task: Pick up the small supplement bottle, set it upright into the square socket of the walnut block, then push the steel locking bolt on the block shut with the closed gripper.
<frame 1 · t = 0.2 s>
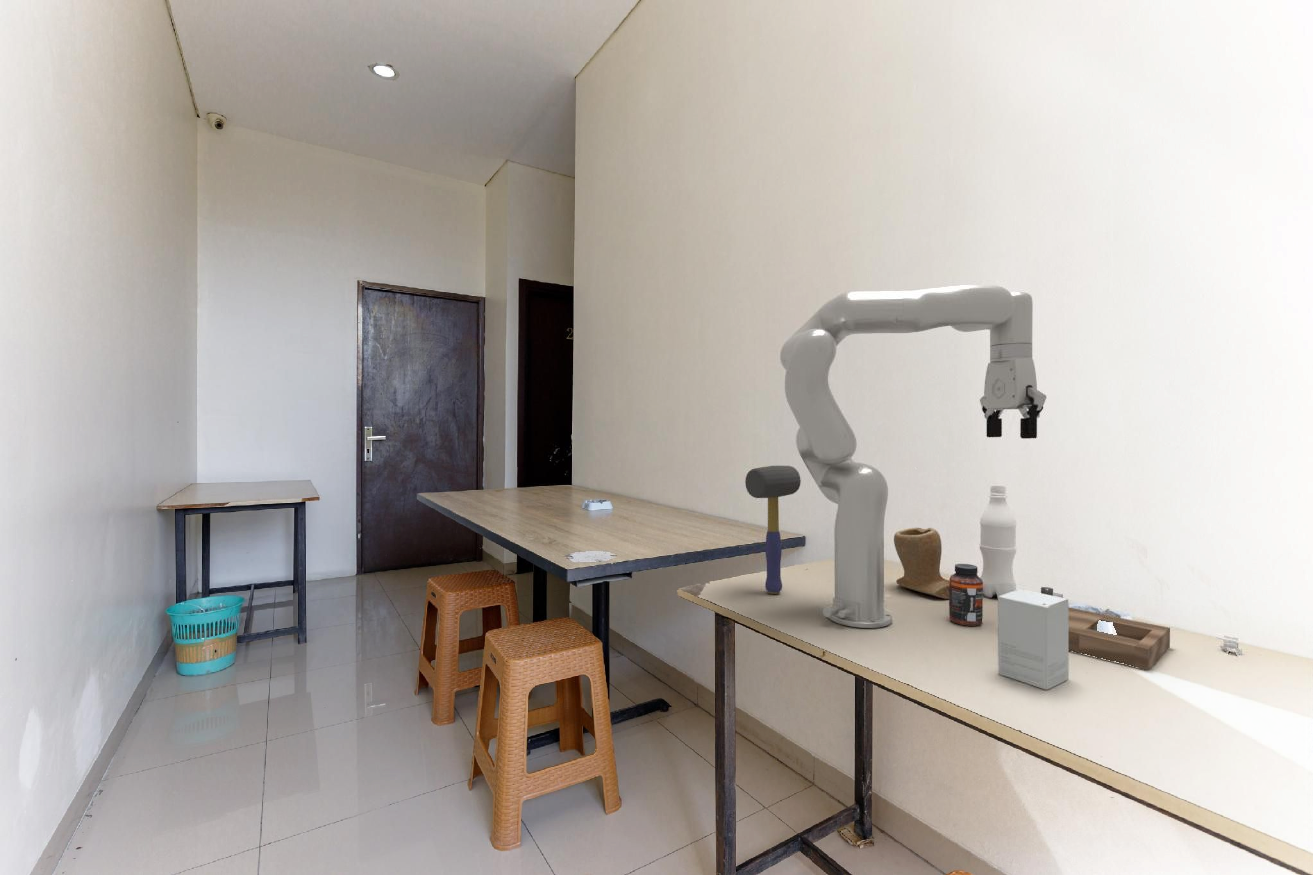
hand: (1010, 437, 123), 36 cm above the table, tool pointing down, fingers open, 9 cm apart
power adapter: (1227, 657, 102), on the table
supplement box: (1032, 677, 94), on the table
tan boot-shaped piece: (926, 593, 140), on the table
supplement bottle: (965, 623, 119), on the table
water bottle: (997, 597, 136), on the table
locking bolt: (1046, 597, 117), point 5 cm above the table, slide at 6.0 cm
rubber mallet: (773, 594, 140), on the table
socket block: (1081, 640, 109), on the table
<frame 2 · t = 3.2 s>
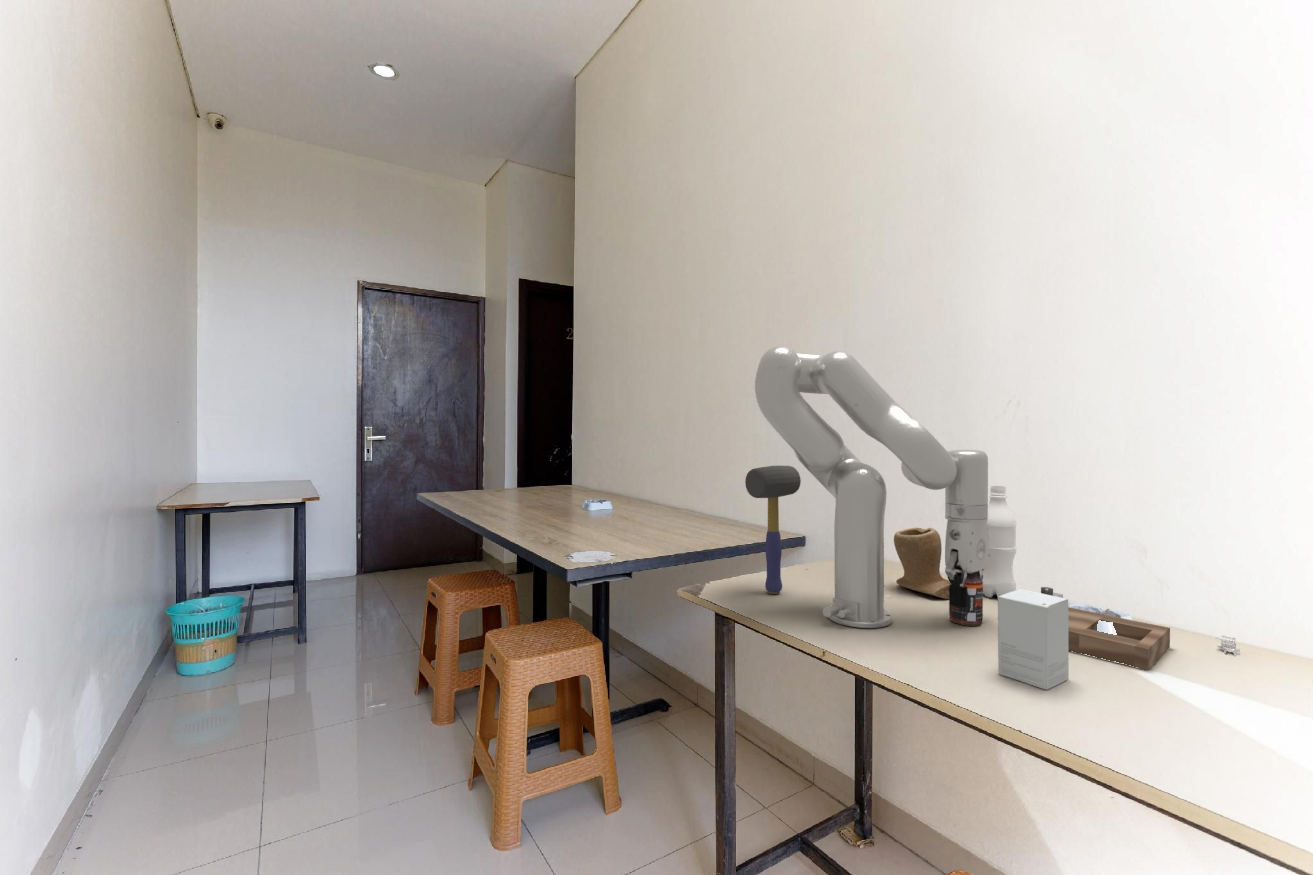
hand: (965, 601, 119), 4 cm above the table, tool pointing down, fingers closed on supplement bottle, 5 cm apart
supplement bottle: (965, 623, 119), on the table, touching gripper
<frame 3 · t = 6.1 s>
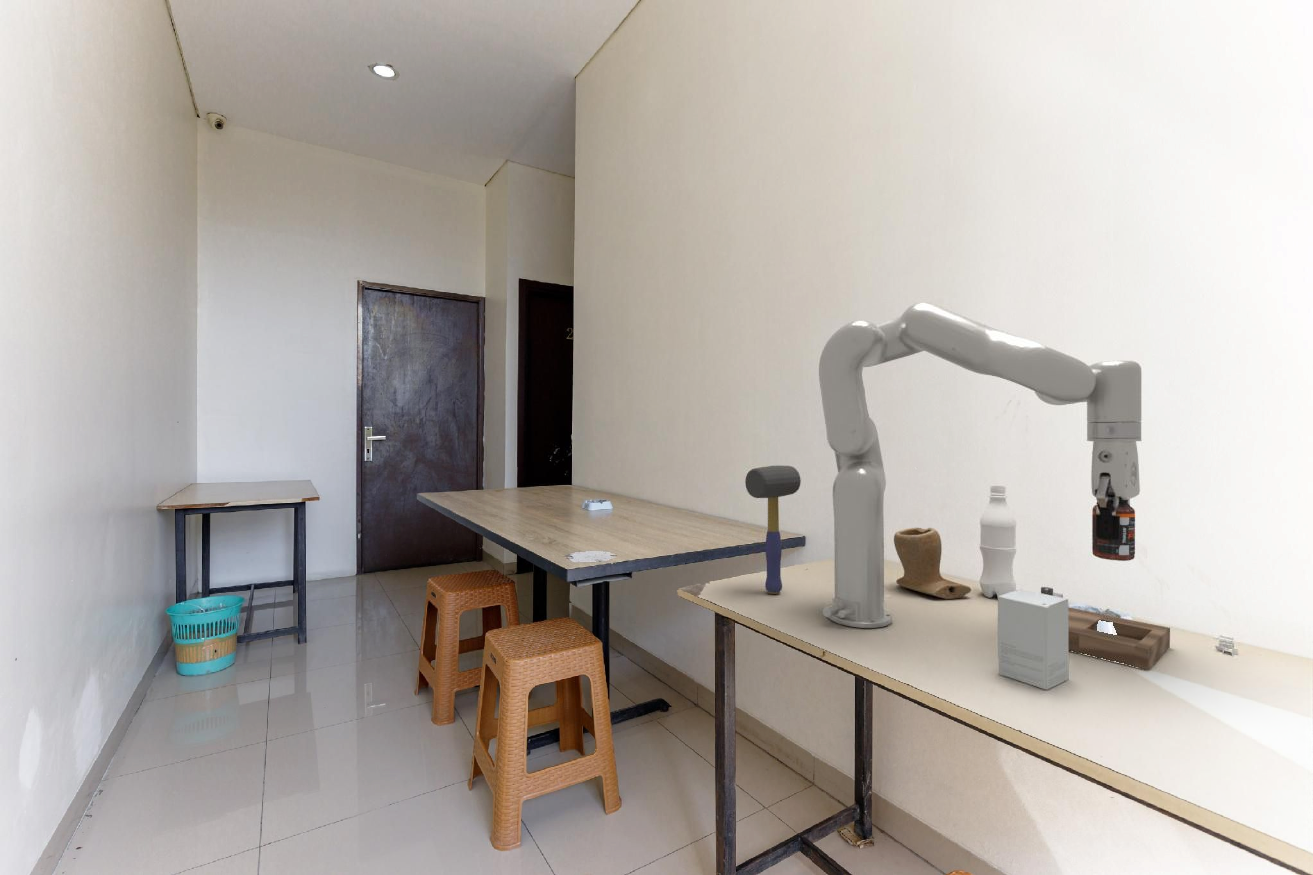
hand: (1113, 534, 104), 20 cm above the table, tool pointing down, fingers closed on supplement bottle, 5 cm apart
supplement bottle: (1113, 558, 105), point 16 cm above the table, touching gripper
when the fingers open (6 cm above the table, at t = 9.3 s): supplement bottle drops 2 cm, resting in socket block.
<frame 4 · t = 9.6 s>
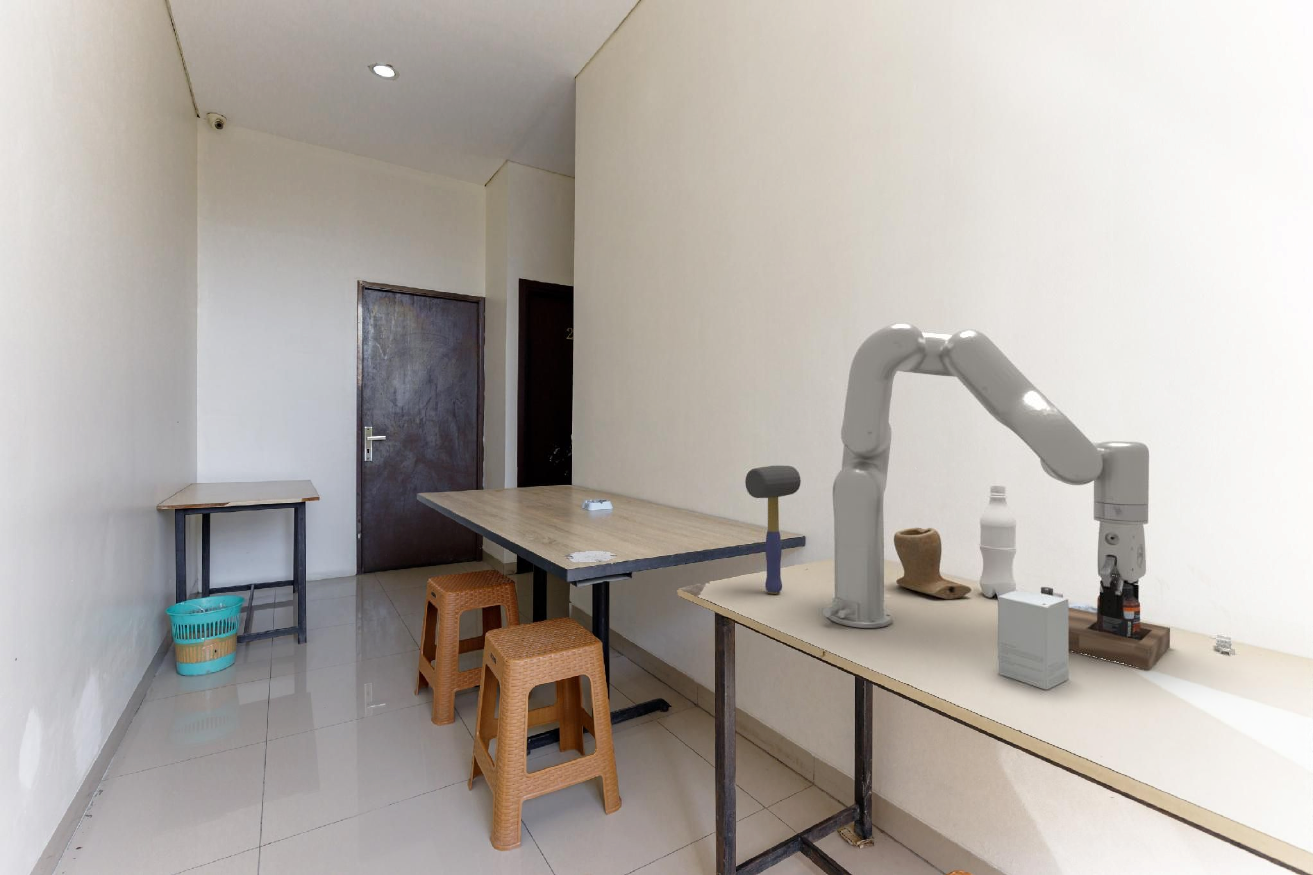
hand: (1119, 610, 104), 7 cm above the table, tool pointing down, fingers open, 9 cm apart
supplement bottle: (1117, 649, 105), resting in socket block
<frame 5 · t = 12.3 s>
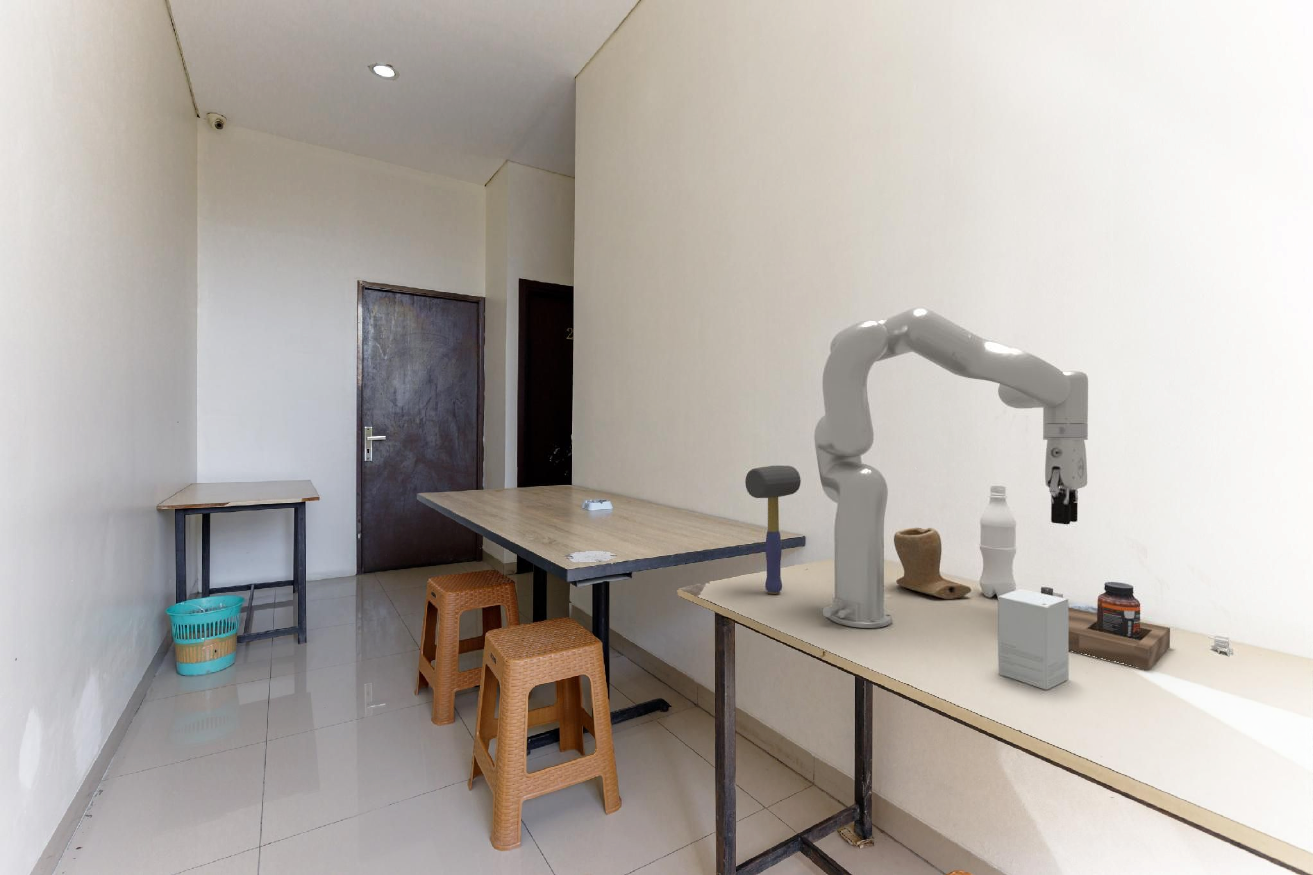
hand: (1064, 521, 122), 19 cm above the table, tool pointing down, fingers open, 3 cm apart
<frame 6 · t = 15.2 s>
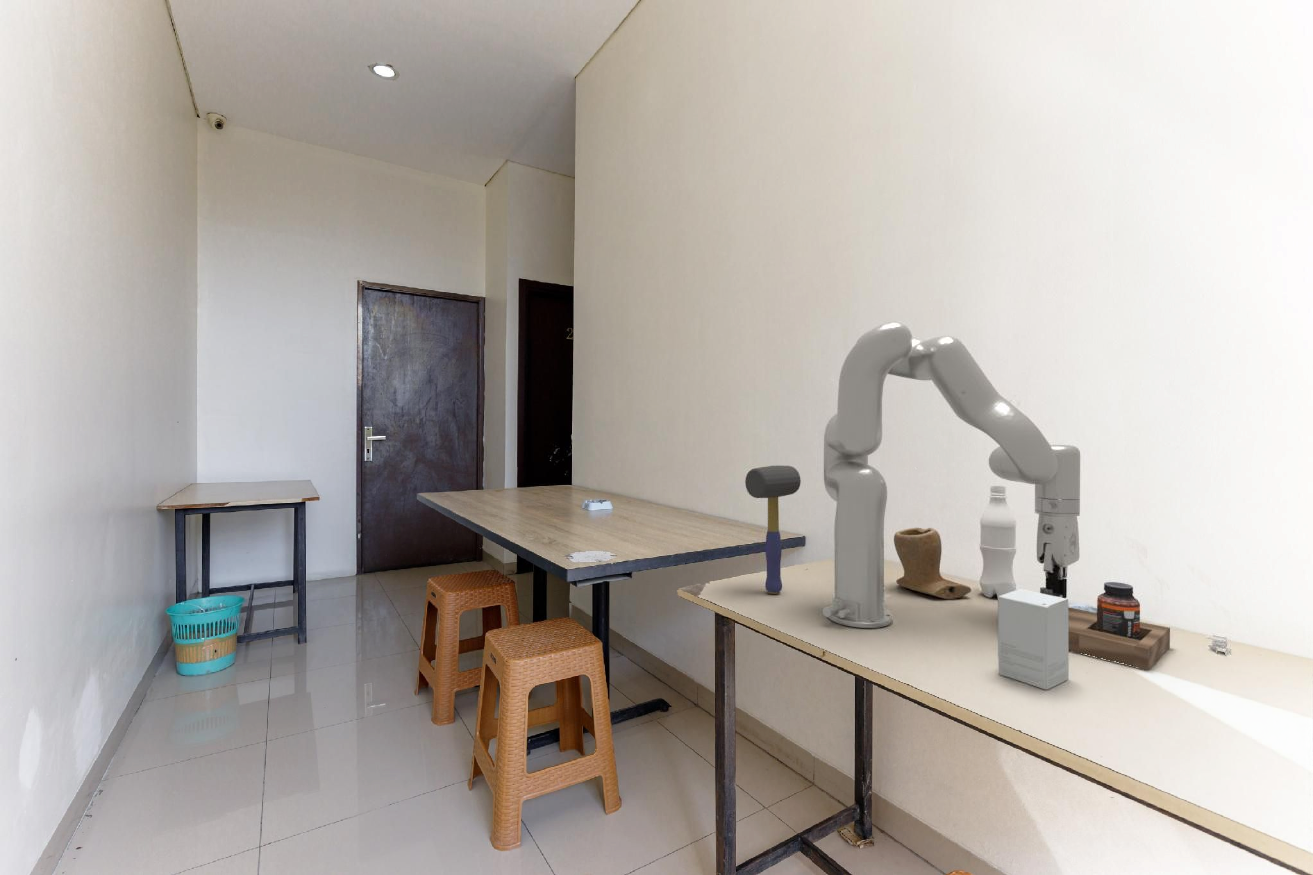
hand: (1056, 597, 120), 4 cm above the table, tool pointing down, fingers closed
locking bolt: (1046, 597, 116), point 5 cm above the table, slide at 5.6 cm, touching gripper
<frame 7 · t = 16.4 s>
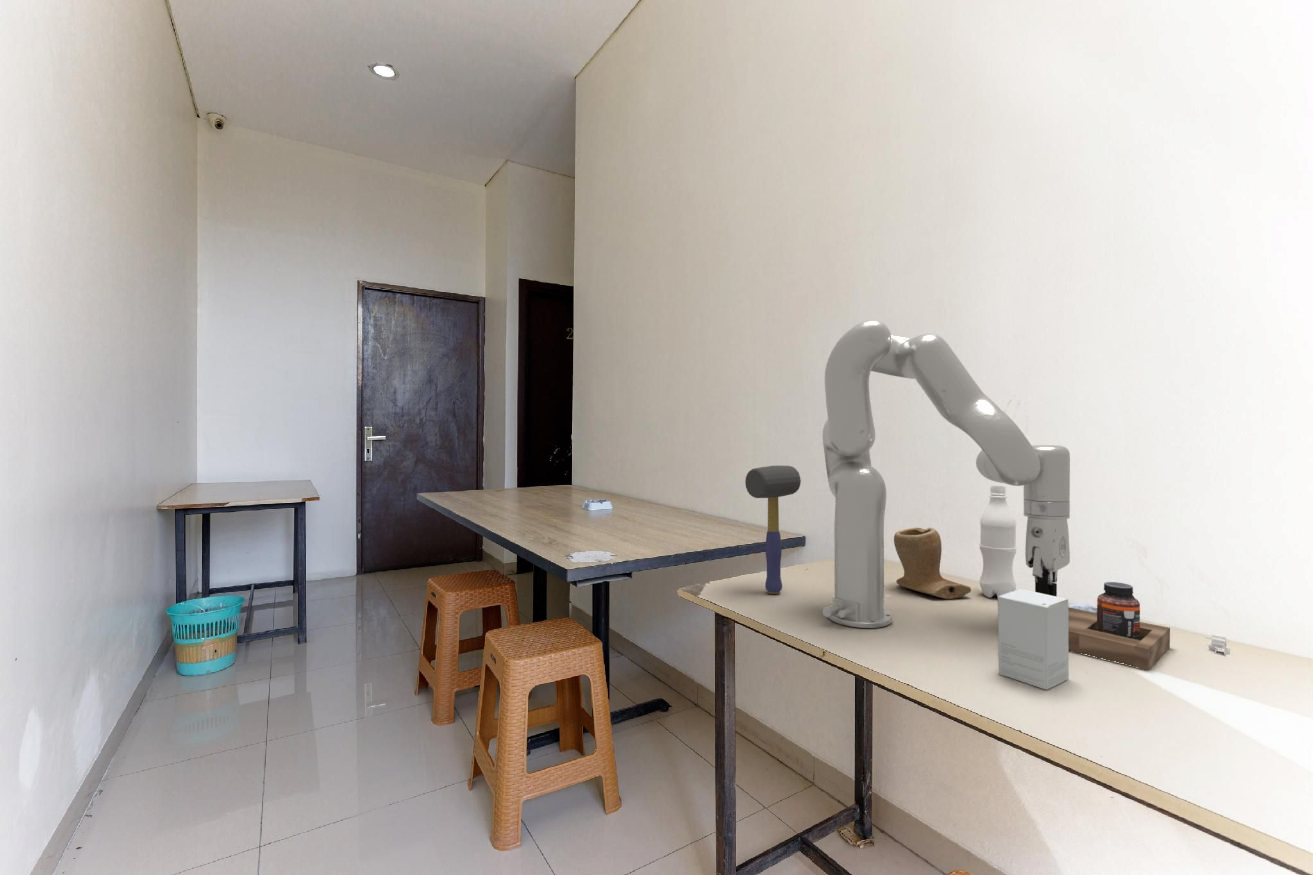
hand: (1045, 602, 116), 4 cm above the table, tool pointing down, fingers closed
locking bolt: (1035, 603, 113), point 5 cm above the table, slide at -0.1 cm, touching gripper
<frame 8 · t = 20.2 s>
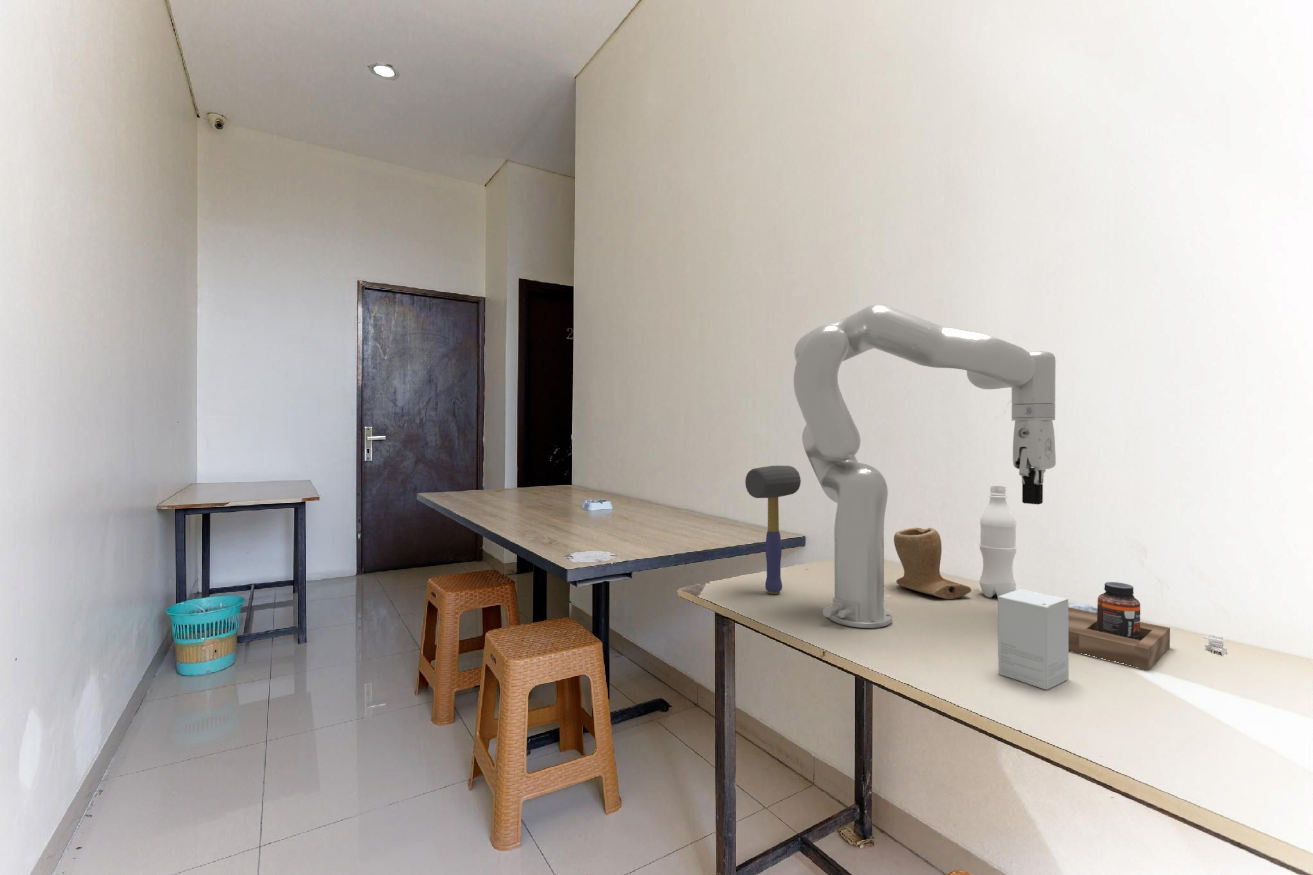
hand: (1032, 503, 122), 23 cm above the table, tool pointing down, fingers closed
locking bolt: (1035, 603, 113), point 5 cm above the table, slide at 0.0 cm
at the end: supplement bottle 0.3 cm from the target spot on the socket block, point 0.0 cm above the socket block's base; supplement bottle tilted 0°; locking bolt slide at 0.0 cm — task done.
